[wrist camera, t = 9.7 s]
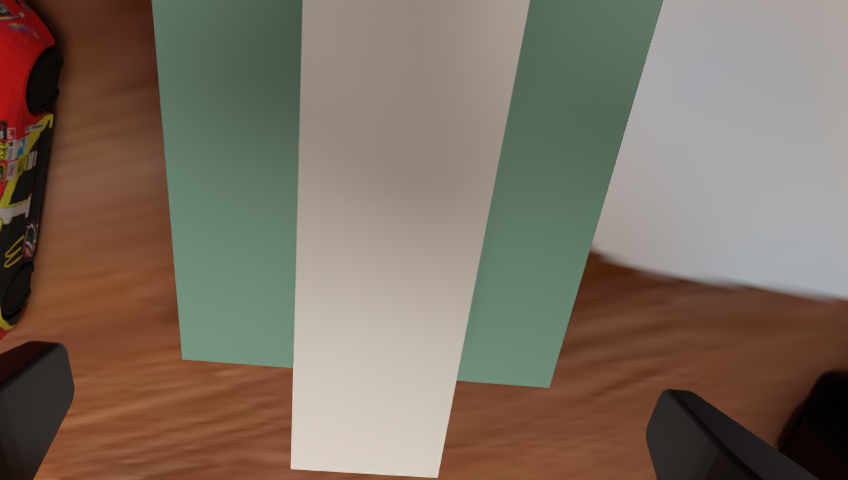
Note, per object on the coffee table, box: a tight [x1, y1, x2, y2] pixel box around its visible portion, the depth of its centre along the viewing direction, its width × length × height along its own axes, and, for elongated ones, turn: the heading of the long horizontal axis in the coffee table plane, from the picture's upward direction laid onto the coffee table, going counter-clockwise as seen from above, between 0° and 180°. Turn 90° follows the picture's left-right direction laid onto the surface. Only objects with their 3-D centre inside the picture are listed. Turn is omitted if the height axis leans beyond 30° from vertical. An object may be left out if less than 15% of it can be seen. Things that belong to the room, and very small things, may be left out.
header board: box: [152, 0, 663, 388], centre depth 16 cm, size 14×16×5 cm
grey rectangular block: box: [291, 0, 530, 478], centre depth 14 cm, size 4×13×5 cm, turn 173°
